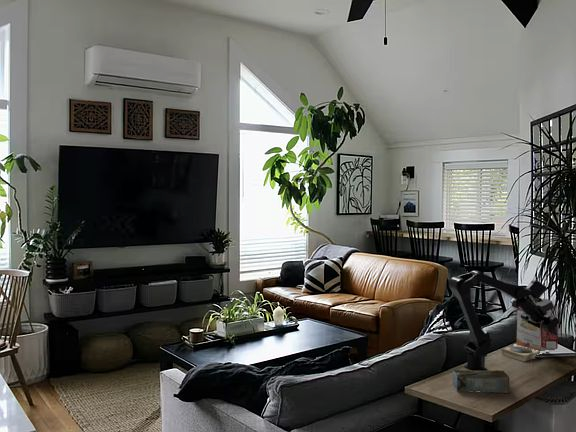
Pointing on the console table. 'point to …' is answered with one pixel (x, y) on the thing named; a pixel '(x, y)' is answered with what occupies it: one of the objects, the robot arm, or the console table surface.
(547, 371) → the console table surface
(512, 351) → the beige square dish
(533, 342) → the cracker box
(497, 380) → the grey rectangular block
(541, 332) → the soda can
